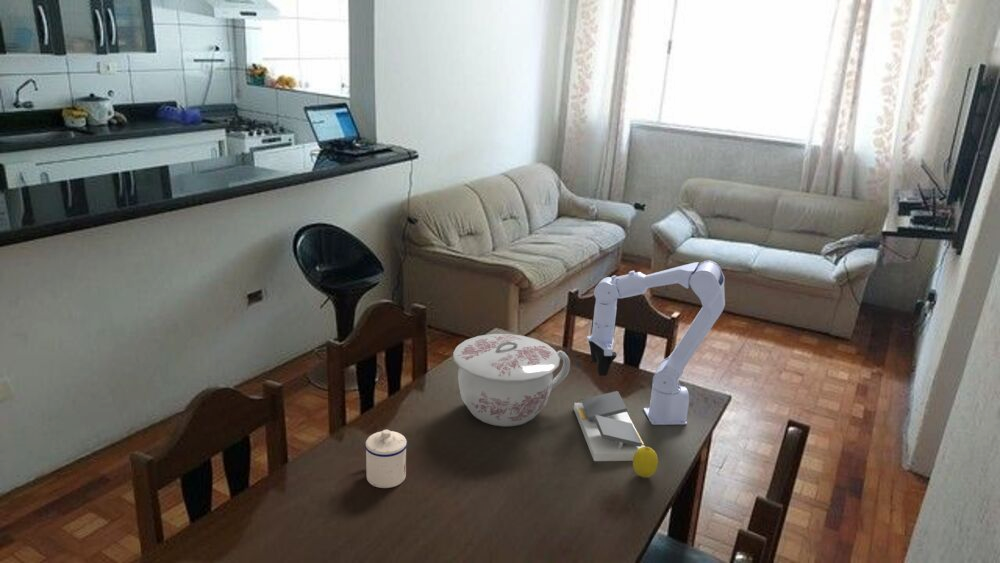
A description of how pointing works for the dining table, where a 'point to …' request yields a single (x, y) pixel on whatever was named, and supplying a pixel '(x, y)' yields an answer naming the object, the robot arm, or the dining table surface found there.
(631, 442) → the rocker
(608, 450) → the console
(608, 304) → the robot arm
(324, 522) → the dining table surface
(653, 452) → the lemon
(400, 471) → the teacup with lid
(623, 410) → the rocker
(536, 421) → the dining table surface
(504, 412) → the chamber pot
